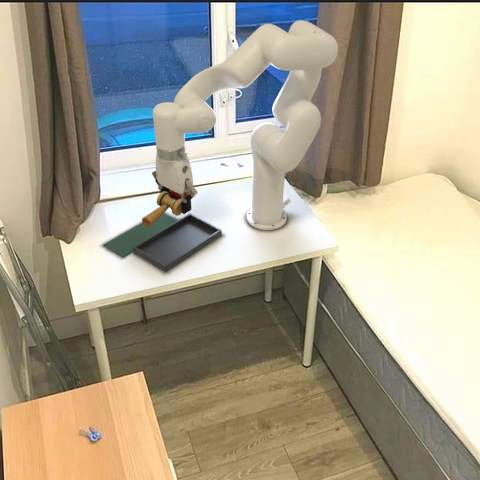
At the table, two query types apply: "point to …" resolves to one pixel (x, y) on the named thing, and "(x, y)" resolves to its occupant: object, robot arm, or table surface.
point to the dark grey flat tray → (177, 242)
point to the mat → (137, 235)
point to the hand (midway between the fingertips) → (176, 206)
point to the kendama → (164, 206)
